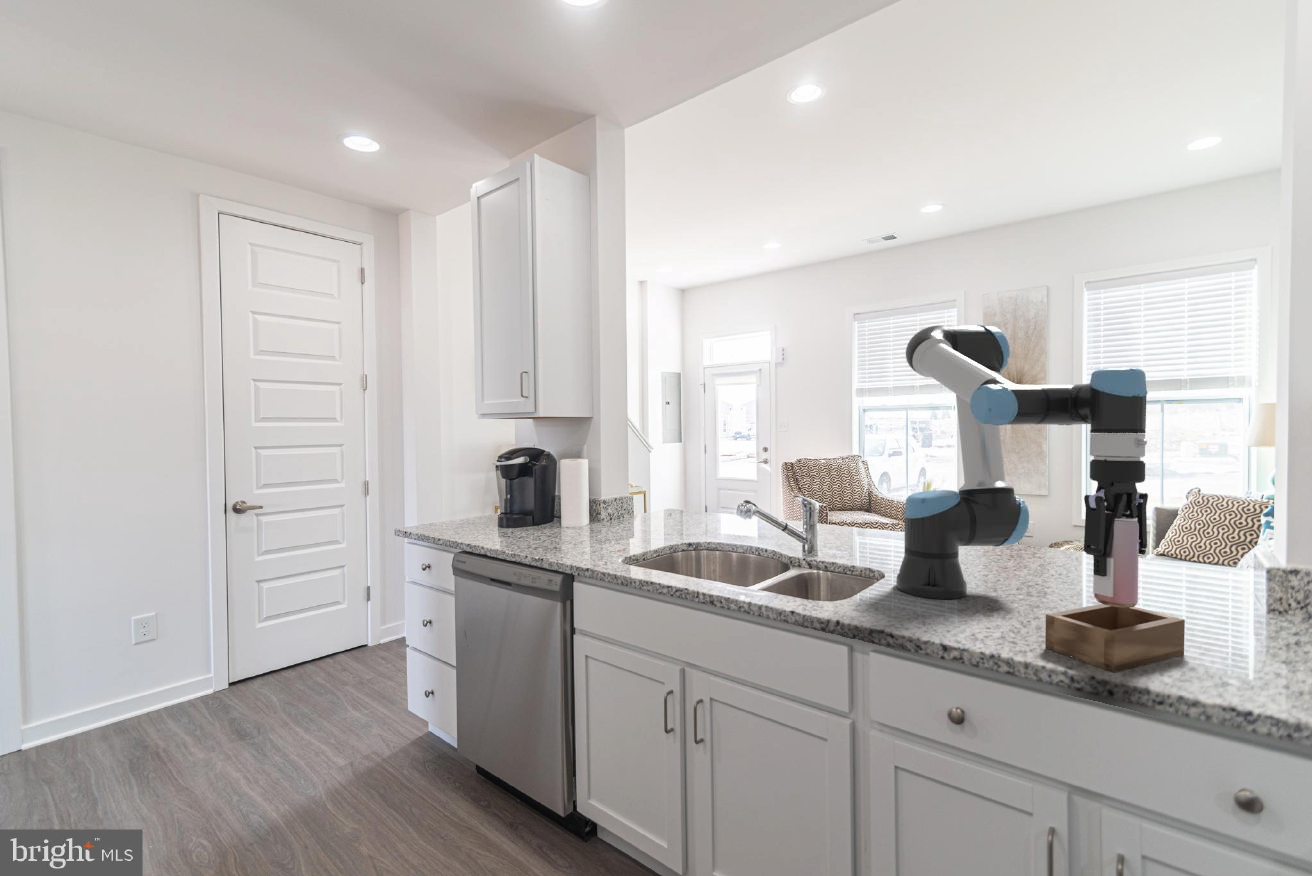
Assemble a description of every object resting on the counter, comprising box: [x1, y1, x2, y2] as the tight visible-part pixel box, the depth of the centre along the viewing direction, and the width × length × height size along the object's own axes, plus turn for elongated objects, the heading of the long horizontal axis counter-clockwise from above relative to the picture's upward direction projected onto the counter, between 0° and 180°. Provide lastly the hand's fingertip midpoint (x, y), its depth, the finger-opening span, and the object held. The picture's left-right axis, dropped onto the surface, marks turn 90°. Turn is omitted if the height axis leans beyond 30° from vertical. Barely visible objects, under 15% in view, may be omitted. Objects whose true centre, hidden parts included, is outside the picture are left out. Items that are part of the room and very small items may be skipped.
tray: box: [1044, 603, 1186, 673], centre depth 102 cm, size 11×19×6 cm, turn 112°
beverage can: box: [1093, 516, 1140, 608], centre depth 101 cm, size 6×6×15 cm
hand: (1115, 592), depth 101 cm, fingers closed on beverage can, 6 cm apart
